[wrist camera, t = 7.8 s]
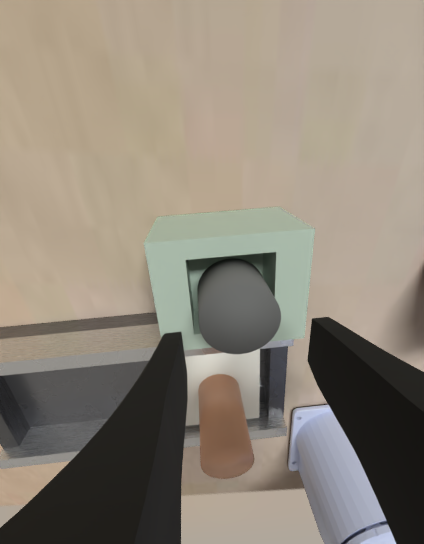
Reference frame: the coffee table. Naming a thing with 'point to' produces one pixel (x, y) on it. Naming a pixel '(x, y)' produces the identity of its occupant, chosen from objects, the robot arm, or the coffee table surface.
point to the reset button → (236, 307)
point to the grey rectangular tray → (96, 384)
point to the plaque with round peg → (223, 409)
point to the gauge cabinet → (223, 245)
